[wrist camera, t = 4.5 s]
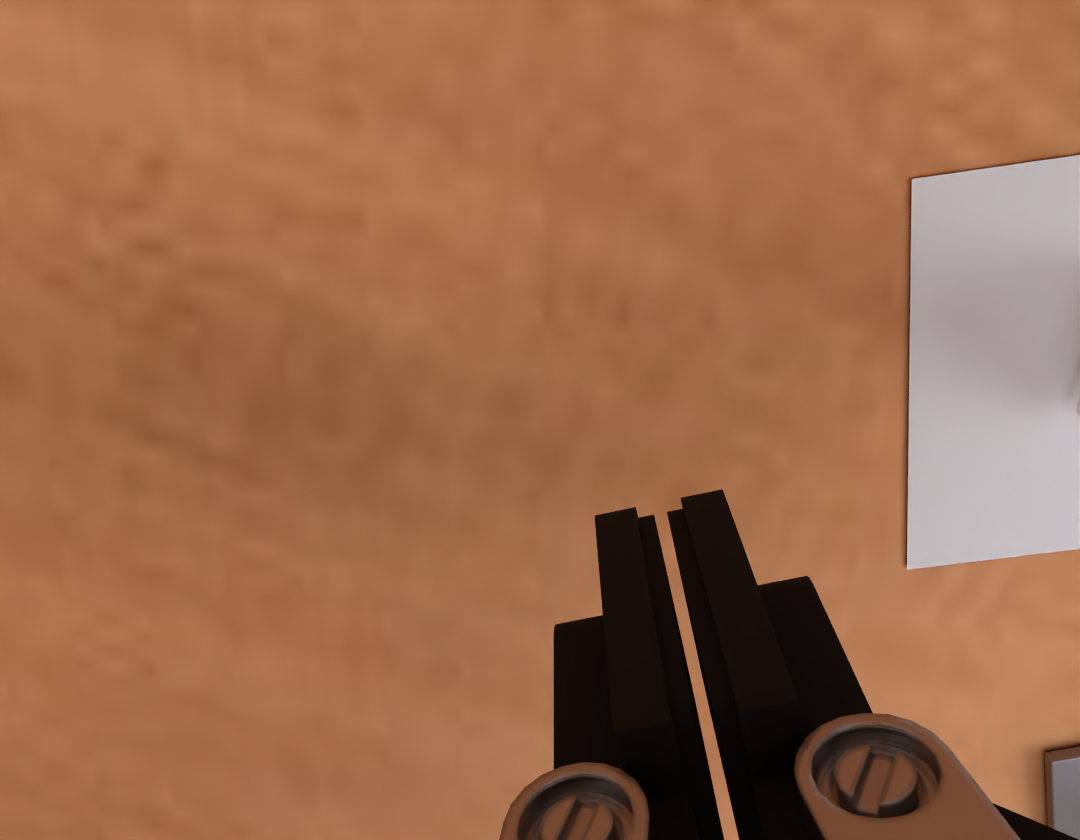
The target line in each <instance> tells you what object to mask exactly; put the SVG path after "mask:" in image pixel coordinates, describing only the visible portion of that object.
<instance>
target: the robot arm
mask: <svg viewBox="0 0 1080 840" xmlns="http://www.w3.org/2000/svg"><path fill="white" fill-rule="evenodd" d="M681 502H682V507H683V509H679V510H674V511H669V512H667V514H668V519H669V523H670V528H671V533H672V537H673V542H674V547H675V551H676V556H677V561H678V565H679V570H680V575H681V579H682V584H683V589H684V593H685V598H686V603H687V607H688V612H689V617H690V621H691V626H692V630H693V635H694V640H695V644H696V649H697V654H698V658H699V663H700V668H701V672H702V677H703V682H704V686H705V691H706V695H707V700H708V704H709V709H710V713H711V717H712V722H713V726H714V731H715V735H716V739H717V744H718V748H719V752H720V757H721V761H722V766H723V770H724V774H725V779H726V783H727V788H728V792H729V796H730V801H731V805H732V810H733V814H734V818H735V823H736V827H737V832H738V836H739V840H1079V839H1076V838H1074V837H1072V836H1069V835H1067V834H1065V833H1062V832H1060V831H1057V830H1055V829H1053V828H1050V827H1048V826H1046V825H1043V824H1041V823H1038V822H1036V821H1034V820H1031V819H1029V818H1027V817H1024V816H1022V815H1019V814H1017V813H1015V812H1012V811H1010V810H1007V809H1005V808H1003V807H1000V806H998V805H996V804H993V803H992V802H991V801H990V800H989V798H988V797H987V796H986V795H985V793H984V792H983V791H982V789H981V788H980V787H979V786H978V784H977V783H976V782H975V780H974V779H973V778H972V777H971V775H970V774H969V773H968V772H967V770H966V769H965V768H964V766H963V765H962V764H961V763H960V761H959V760H958V759H957V757H956V756H955V755H954V754H953V752H952V751H951V750H950V749H949V747H948V746H947V745H946V744H945V743H944V742H942V741H941V740H940V739H939V738H938V737H937V736H936V735H935V734H934V733H933V732H932V731H930V730H928V729H926V728H924V727H922V726H920V725H919V724H917V723H915V722H913V721H911V720H907V719H904V718H900V717H896V716H892V715H889V714H873V713H872V711H871V708H870V706H869V704H868V702H867V700H866V698H865V695H864V693H863V691H862V689H861V687H860V685H859V683H858V680H857V678H856V676H855V674H854V672H853V670H852V667H851V665H850V663H849V661H848V659H847V657H846V654H845V652H844V650H843V648H842V646H841V644H840V641H839V639H838V637H837V635H836V633H835V631H834V628H833V626H832V624H831V622H830V620H829V618H828V615H827V613H826V611H825V609H824V607H823V605H822V602H821V600H820V598H819V596H818V594H817V592H816V589H815V587H814V585H813V583H812V581H811V580H810V578H809V577H808V576H804V577H798V578H793V579H788V580H783V581H778V582H772V583H767V584H762V585H757V583H756V580H755V577H754V575H753V572H752V569H751V566H750V564H749V561H748V558H747V555H746V553H745V550H744V547H743V544H742V542H741V539H740V536H739V533H738V530H737V528H736V525H735V522H734V519H733V517H732V514H731V511H730V508H729V506H728V503H727V500H726V497H725V495H724V492H723V490H717V491H712V492H707V493H702V494H697V495H692V496H688V497H683V498H681ZM595 526H596V538H597V550H598V562H599V574H600V585H601V597H602V609H603V615H602V616H597V617H592V618H586V619H581V620H576V621H571V622H566V623H560V624H556V625H555V627H554V770H552V771H550V772H547V773H545V774H543V775H541V776H540V777H538V778H537V779H536V780H534V781H533V782H532V783H530V784H529V785H528V786H526V787H525V788H524V789H523V790H522V791H521V793H520V794H519V795H518V796H517V797H516V799H515V800H514V801H513V802H512V804H511V805H510V808H509V810H508V813H507V815H506V817H505V820H504V822H503V826H502V830H501V835H500V839H499V840H724V837H723V832H722V827H721V823H720V818H719V813H718V808H717V803H716V799H715V794H714V789H713V784H712V779H711V775H710V770H709V765H708V760H707V756H706V751H705V746H704V741H703V736H702V732H701V727H700V722H699V717H698V712H697V708H696V703H695V698H694V694H693V689H692V684H691V680H690V675H689V671H688V666H687V662H686V657H685V653H684V648H683V644H682V639H681V635H680V630H679V626H678V621H677V617H676V612H675V608H674V603H673V598H672V594H671V589H670V585H669V580H668V576H667V571H666V567H665V562H664V558H663V553H662V549H661V544H660V540H659V535H658V531H657V526H656V522H655V517H654V515H650V516H645V517H640V518H638V515H637V511H636V507H634V508H629V509H624V510H619V511H615V512H610V513H605V514H600V515H595Z"/></svg>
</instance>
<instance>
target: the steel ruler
mask: <svg viewBox="0 0 1080 840" xmlns="http://www.w3.org/2000/svg"><path fill="white" fill-rule="evenodd" d="M1045 772H1046V797H1047V822H1048V827H1050V828H1053V829H1055V830H1057V831H1060V832H1062V833H1065V834H1067V835H1069V836H1072V837H1074V838H1076V839H1079V840H1080V746H1077V747H1072V748H1066V749H1061V750H1055V751H1050V752H1045Z"/></svg>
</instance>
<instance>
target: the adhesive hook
mask: <svg viewBox="0 0 1080 840" xmlns="http://www.w3.org/2000/svg"><path fill="white" fill-rule="evenodd" d="M1075 412H1076V413H1077V414H1078V415H1079V416H1080V392H1079V393H1078V398H1077V402H1076V407H1075Z"/></svg>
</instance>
